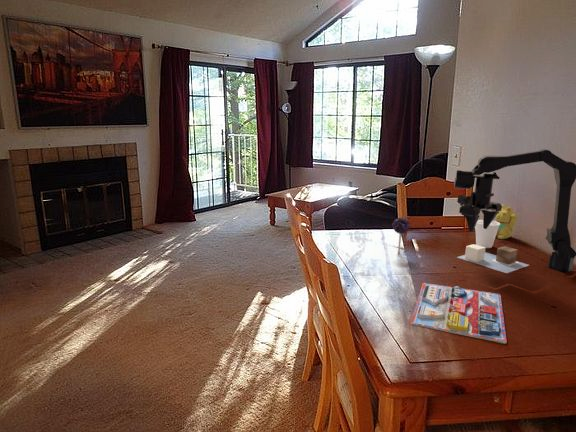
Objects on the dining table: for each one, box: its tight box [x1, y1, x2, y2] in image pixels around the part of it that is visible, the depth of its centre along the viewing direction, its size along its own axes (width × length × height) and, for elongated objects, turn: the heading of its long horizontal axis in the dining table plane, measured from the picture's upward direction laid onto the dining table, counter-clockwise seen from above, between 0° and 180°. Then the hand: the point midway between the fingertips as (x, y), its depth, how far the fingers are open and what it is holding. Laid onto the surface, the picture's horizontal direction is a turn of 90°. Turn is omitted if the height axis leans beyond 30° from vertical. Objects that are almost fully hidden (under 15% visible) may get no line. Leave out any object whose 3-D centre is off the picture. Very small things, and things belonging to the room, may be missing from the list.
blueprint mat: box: [456, 251, 530, 274], centre depth 158 cm, size 20×16×1 cm
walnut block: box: [495, 245, 518, 265], centre depth 157 cm, size 5×5×5 cm
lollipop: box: [391, 217, 411, 255], centre depth 165 cm, size 7×7×15 cm
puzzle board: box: [409, 282, 508, 345], centre depth 118 cm, size 30×23×3 cm
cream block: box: [464, 243, 487, 262], centre depth 160 cm, size 5×5×5 cm
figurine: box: [495, 203, 518, 240], centre depth 192 cm, size 11×9×15 cm
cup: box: [474, 219, 500, 249], centre depth 176 cm, size 10×10×11 cm
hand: (477, 230), depth 158 cm, fingers open, 9 cm apart
